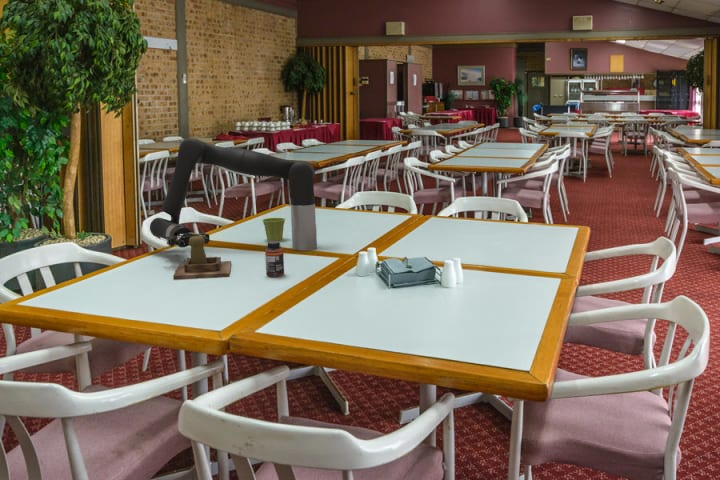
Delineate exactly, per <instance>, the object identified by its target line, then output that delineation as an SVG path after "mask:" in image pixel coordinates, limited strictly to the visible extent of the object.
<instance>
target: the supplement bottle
mask: <svg viewBox="0 0 720 480" xmlns="http://www.w3.org/2000/svg"><path fill="white" fill-rule="evenodd" d="M264 253H265V255H264V257H265V258H264V259H265V260H264V261H265V274H266V276H267V277H270V278H278V277H279V278H280V277H282V276H284V275H285V262H284V261H285V259H284V249H283V247H281V241H267V247H266V248H265V250H264Z"/></svg>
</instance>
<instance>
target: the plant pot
mask: <svg viewBox="0 0 720 480" xmlns="http://www.w3.org/2000/svg"><path fill="white" fill-rule="evenodd" d="M261 221H262V223H263V225H264V230H265V235H266V240H267V242H269V241H279V242H281V241H283V236H284V225H285V221H286V218H284V217H270V218H269V217H267V218H263V219H262V220H261Z"/></svg>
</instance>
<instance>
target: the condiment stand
mask: <svg viewBox="0 0 720 480" xmlns="http://www.w3.org/2000/svg"><path fill="white" fill-rule="evenodd" d="M206 259H207V264H192V265H190V261H191V257H189V258H186V260H185V262H181V263H178V264H177V267H176V269H175V271H174V274H173V275H172V277H173V280H190V279H191V280H192V279H209V278H210V279H212V278H214V279H215V278H230V275H231V268H232V260H225V261H224V260H223V261H222V258H221V256H206Z"/></svg>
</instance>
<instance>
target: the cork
mask: <svg viewBox="0 0 720 480" xmlns="http://www.w3.org/2000/svg"><path fill="white" fill-rule="evenodd" d="M204 243H205V240H204V238H203V237H202V236H193V237H191V238H190V239H189V246H190V258H191V261H190V265H192V264H207V259H206V257H207V256H206V252H205V247H204V245H205V244H204Z"/></svg>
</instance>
